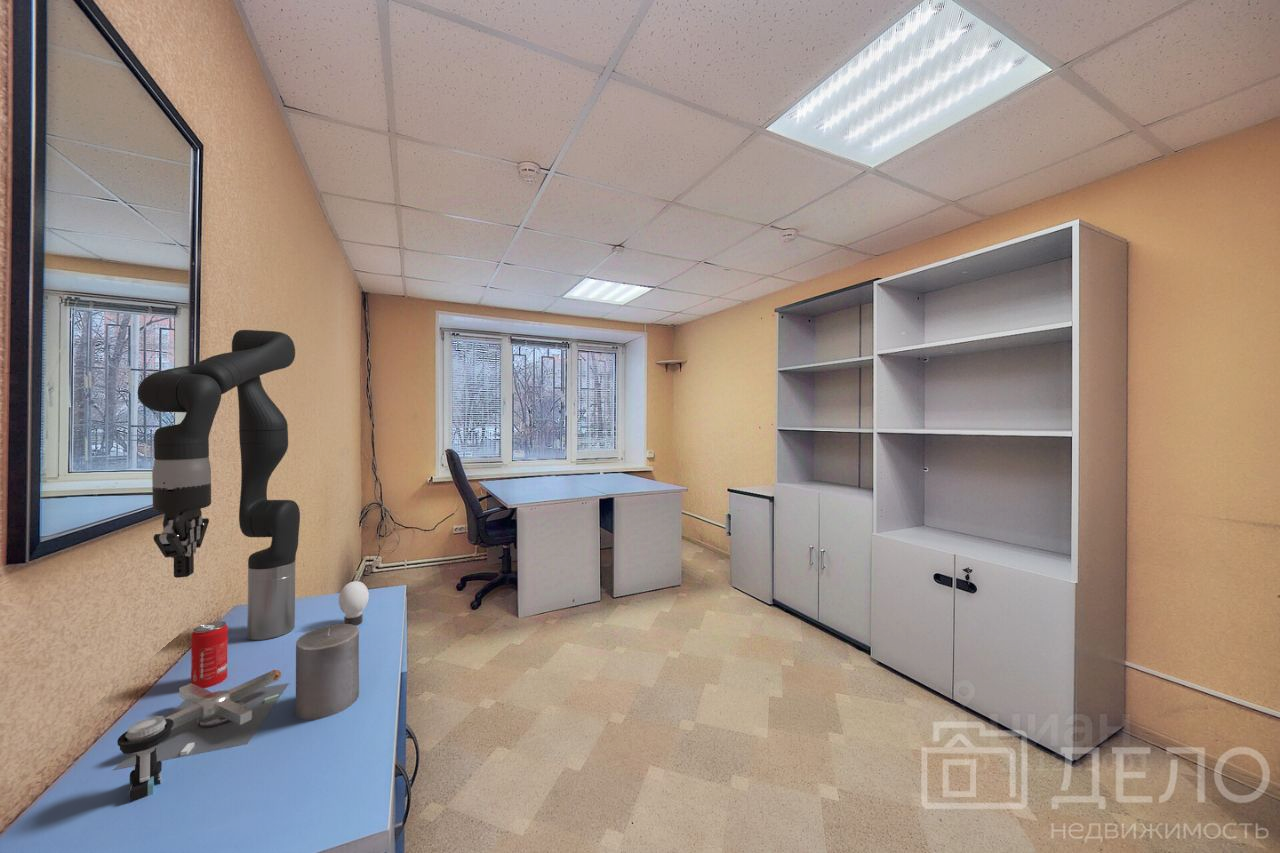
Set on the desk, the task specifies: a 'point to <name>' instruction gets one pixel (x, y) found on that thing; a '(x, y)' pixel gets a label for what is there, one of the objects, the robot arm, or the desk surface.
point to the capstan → (219, 703)
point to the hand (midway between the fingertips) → (183, 575)
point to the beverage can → (209, 654)
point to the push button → (145, 753)
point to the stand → (214, 729)
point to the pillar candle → (327, 671)
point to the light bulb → (353, 602)
